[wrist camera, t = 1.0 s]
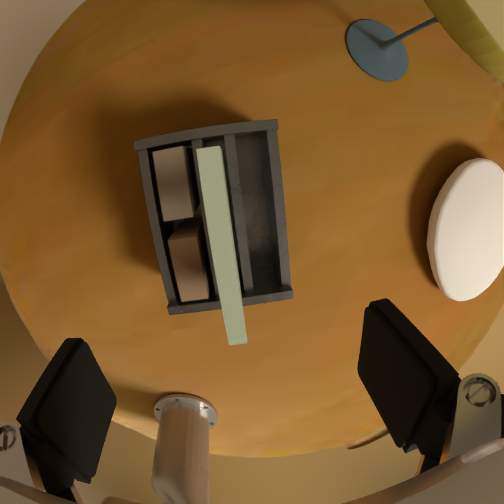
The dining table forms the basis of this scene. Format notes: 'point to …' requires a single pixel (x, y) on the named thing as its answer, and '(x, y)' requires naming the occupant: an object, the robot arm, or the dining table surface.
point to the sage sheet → (222, 240)
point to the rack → (241, 209)
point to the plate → (468, 230)
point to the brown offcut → (176, 182)
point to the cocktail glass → (445, 11)
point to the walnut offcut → (190, 260)
